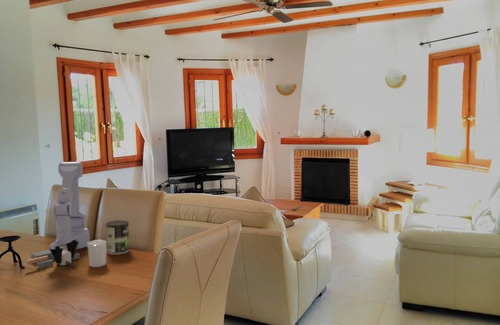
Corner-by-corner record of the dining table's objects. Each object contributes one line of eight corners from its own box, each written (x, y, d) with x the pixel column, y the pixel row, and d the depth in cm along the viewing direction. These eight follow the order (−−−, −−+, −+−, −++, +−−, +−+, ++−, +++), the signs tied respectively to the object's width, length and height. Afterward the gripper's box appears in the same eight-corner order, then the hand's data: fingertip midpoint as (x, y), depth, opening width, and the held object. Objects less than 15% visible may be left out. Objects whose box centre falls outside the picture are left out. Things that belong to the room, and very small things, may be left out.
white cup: (110, 261, 178) (109, 240, 177) (102, 268, 171) (101, 245, 170) (93, 261, 179) (92, 239, 178) (84, 267, 171) (83, 244, 170)
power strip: (67, 252, 192) (66, 245, 191) (79, 258, 183) (79, 250, 183) (26, 262, 178) (26, 254, 178) (38, 268, 170) (38, 260, 169)
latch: (46, 258, 173) (46, 255, 173) (48, 259, 172) (47, 256, 172) (27, 263, 167) (26, 260, 167) (28, 264, 166) (28, 260, 166)
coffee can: (132, 248, 198) (131, 220, 197) (125, 254, 188) (124, 225, 187) (111, 248, 199) (110, 220, 197) (103, 254, 188) (102, 225, 187)
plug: (67, 260, 179) (66, 249, 179) (79, 266, 172) (78, 254, 172) (56, 263, 176) (56, 251, 175) (68, 269, 169) (67, 257, 168)
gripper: (68, 225, 182) (69, 254, 183) (43, 233, 168) (44, 265, 170) (81, 226, 180) (82, 256, 181) (57, 235, 166) (58, 266, 168)
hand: (65, 260), depth 175 cm, fingers open, 7 cm apart
